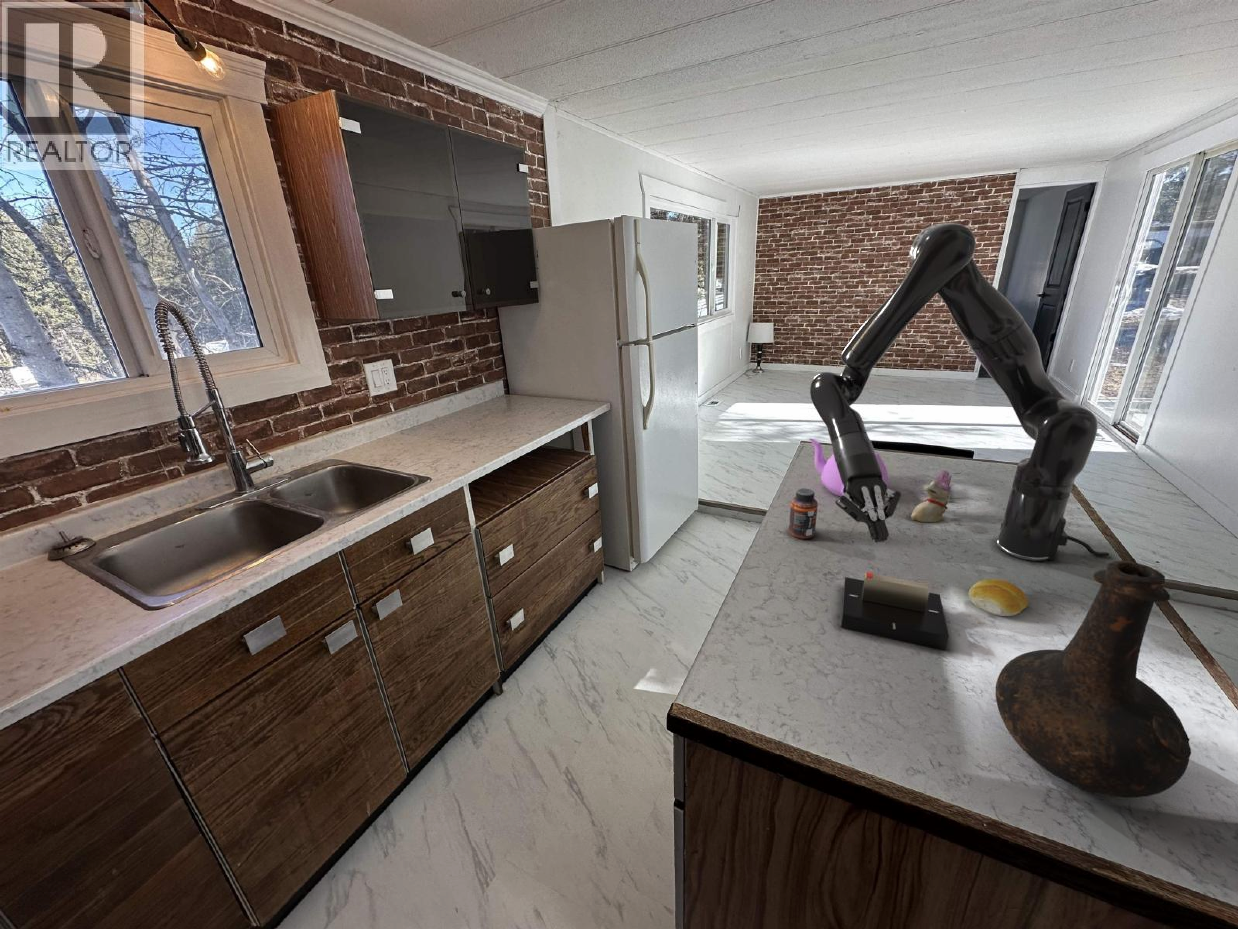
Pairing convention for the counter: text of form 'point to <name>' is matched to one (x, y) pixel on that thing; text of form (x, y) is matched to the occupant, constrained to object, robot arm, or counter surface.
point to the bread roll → (998, 597)
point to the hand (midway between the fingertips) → (881, 541)
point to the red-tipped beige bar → (895, 592)
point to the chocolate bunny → (932, 505)
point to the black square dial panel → (894, 618)
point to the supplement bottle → (803, 514)
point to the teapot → (836, 470)
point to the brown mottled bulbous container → (1099, 697)
